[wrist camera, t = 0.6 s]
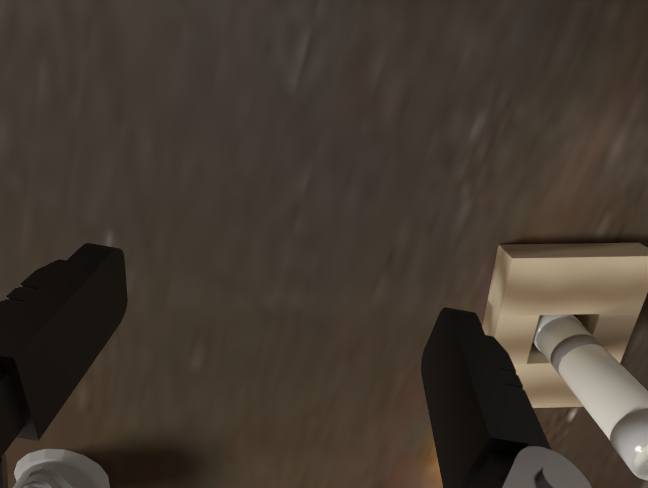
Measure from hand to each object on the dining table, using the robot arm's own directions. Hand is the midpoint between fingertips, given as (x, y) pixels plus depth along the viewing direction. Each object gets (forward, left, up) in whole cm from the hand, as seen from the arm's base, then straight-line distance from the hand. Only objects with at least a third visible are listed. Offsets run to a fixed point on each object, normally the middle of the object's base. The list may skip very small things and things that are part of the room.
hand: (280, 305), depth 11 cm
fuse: (+17, +23, -22) cm, 36 cm away
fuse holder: (+17, +23, -22) cm, 36 cm away
